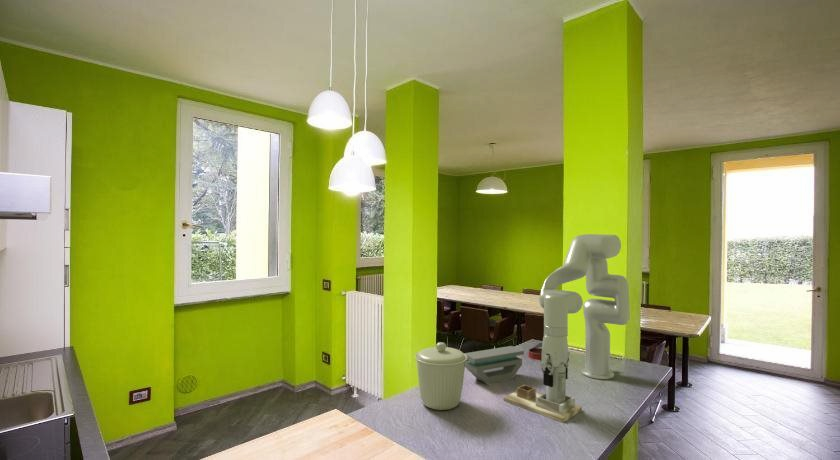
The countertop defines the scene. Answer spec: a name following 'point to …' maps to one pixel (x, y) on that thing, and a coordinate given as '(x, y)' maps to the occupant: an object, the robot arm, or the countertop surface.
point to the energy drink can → (557, 385)
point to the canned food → (536, 352)
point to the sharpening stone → (494, 364)
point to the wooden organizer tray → (543, 403)
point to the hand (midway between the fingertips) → (555, 381)
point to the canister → (440, 376)
